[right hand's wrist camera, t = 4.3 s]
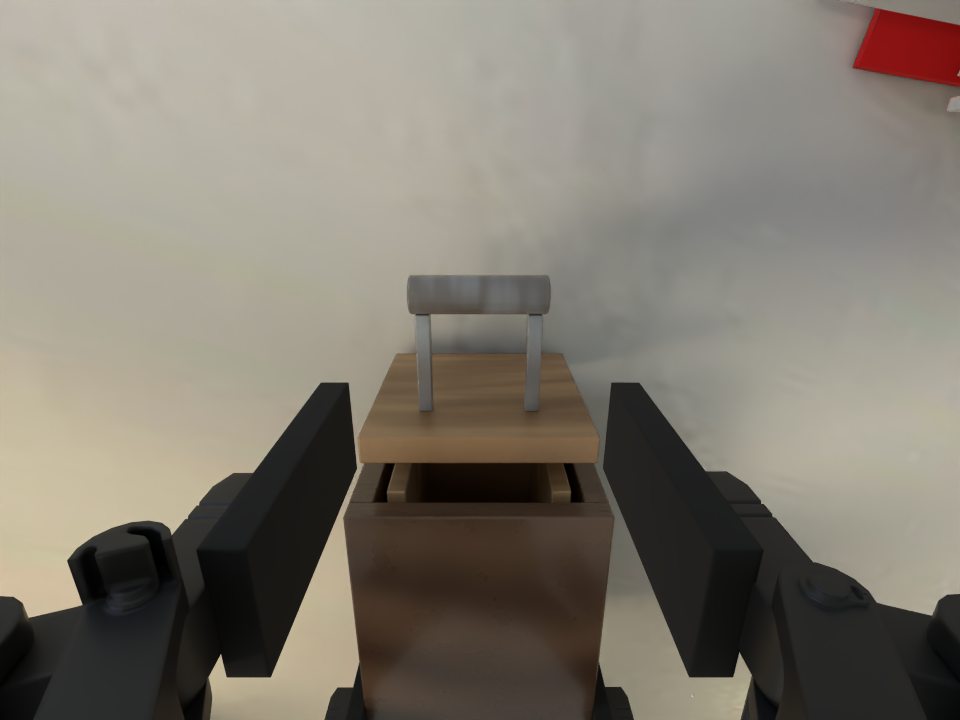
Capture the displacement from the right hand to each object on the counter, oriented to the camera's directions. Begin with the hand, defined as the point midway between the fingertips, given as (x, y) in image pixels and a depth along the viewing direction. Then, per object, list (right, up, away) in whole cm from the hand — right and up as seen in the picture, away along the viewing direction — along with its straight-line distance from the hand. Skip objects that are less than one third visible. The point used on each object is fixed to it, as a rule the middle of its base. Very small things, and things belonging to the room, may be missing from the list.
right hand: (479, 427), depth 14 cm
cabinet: (0, -8, +20) cm, 21 cm away
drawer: (0, -2, +16) cm, 17 cm away
